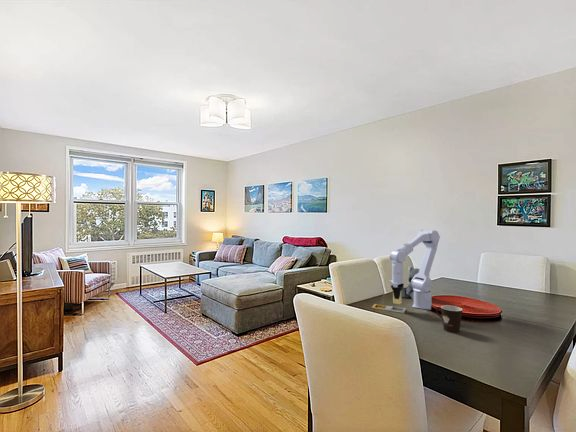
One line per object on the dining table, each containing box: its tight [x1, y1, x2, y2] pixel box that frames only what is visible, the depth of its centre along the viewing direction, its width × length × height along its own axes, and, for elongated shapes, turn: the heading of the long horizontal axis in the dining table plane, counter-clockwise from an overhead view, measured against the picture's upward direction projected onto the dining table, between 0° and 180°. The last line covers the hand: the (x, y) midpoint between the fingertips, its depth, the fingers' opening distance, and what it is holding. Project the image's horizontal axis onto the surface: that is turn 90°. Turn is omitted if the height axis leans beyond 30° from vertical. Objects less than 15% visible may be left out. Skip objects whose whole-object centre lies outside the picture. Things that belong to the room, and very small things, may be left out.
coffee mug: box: [435, 304, 463, 334], centre depth 140 cm, size 12×9×10 cm
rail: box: [371, 303, 407, 314], centre depth 169 cm, size 17×6×1 cm, turn 61°
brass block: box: [392, 290, 403, 305], centre depth 167 cm, size 4×4×7 cm
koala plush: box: [402, 265, 431, 302], centre depth 192 cm, size 17×18×20 cm
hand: (397, 297), depth 167 cm, fingers closed on brass block, 4 cm apart
